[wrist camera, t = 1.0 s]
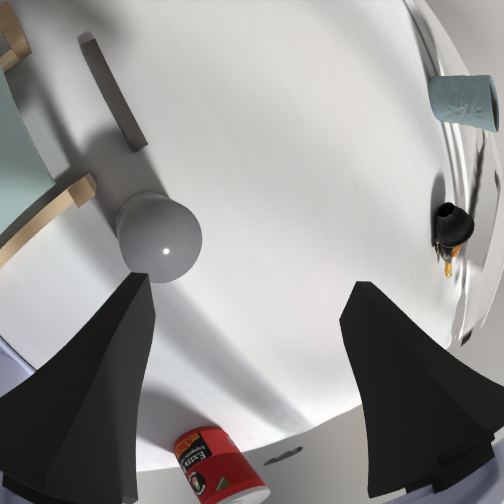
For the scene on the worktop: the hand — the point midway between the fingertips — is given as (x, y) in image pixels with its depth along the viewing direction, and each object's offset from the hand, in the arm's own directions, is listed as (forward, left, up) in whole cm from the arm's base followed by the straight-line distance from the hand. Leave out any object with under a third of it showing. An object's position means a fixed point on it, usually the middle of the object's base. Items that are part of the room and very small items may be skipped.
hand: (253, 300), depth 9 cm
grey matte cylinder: (-1, +1, -13) cm, 13 cm away
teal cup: (+50, -4, -13) cm, 52 cm away
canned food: (-13, -25, -13) cm, 31 cm away
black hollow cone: (+42, -31, -13) cm, 54 cm away
